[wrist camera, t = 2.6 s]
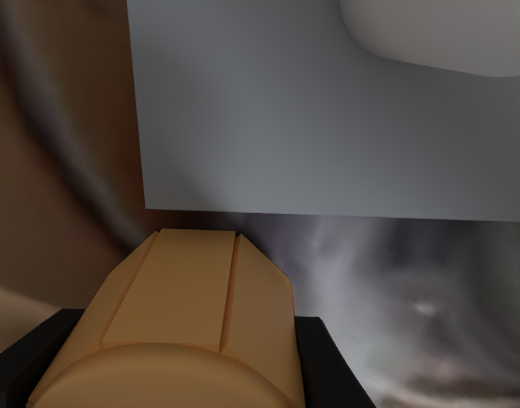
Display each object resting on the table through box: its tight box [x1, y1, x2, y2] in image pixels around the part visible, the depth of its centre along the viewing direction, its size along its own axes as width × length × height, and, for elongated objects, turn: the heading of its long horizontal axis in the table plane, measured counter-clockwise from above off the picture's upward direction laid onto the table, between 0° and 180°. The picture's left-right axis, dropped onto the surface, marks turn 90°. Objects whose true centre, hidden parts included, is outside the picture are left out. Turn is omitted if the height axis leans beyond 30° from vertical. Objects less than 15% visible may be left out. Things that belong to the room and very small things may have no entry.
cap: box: [26, 229, 306, 408], centre depth 9 cm, size 5×5×5 cm
